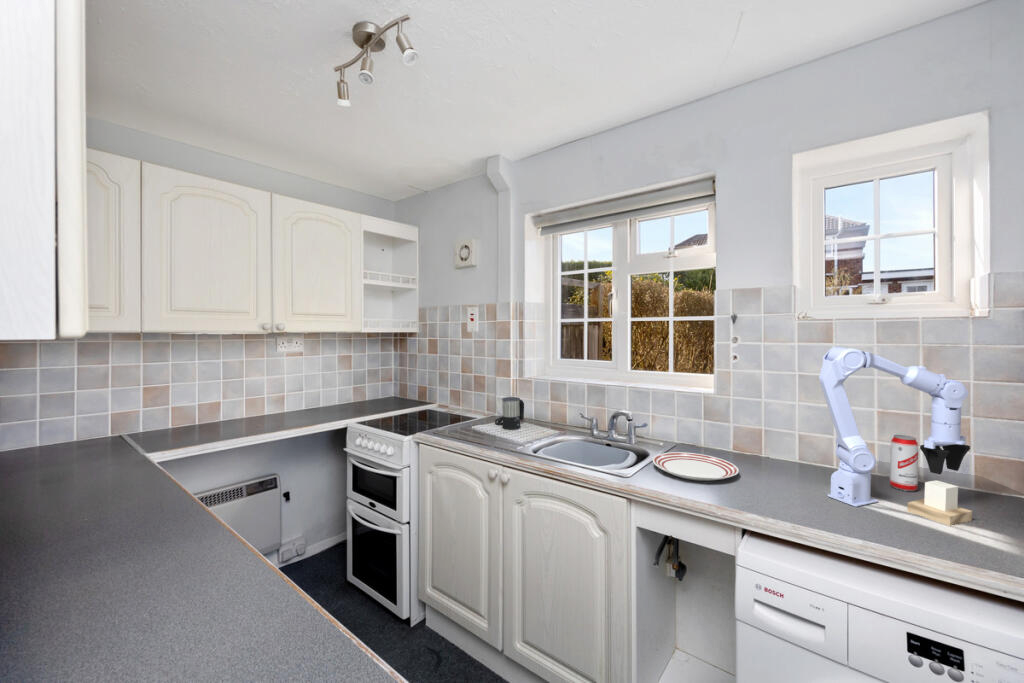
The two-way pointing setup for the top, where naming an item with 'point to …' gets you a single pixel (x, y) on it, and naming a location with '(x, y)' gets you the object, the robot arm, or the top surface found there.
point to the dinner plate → (695, 466)
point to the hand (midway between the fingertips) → (944, 471)
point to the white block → (941, 495)
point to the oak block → (940, 513)
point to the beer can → (904, 463)
